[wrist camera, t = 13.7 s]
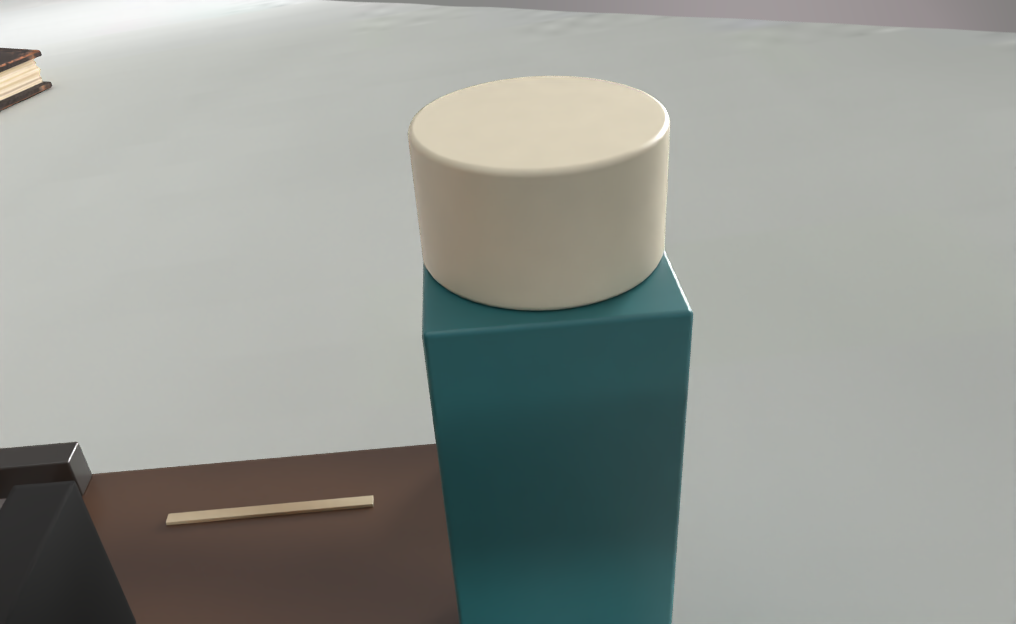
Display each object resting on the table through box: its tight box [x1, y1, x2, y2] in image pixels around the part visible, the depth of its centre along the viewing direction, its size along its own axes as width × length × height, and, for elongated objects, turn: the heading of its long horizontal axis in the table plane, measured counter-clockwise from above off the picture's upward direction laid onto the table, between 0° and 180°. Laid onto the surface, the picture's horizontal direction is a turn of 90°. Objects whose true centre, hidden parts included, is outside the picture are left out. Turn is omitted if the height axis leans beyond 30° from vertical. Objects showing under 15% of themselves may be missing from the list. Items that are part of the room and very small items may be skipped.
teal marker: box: [408, 76, 693, 624], centre depth 15 cm, size 4×4×11 cm
